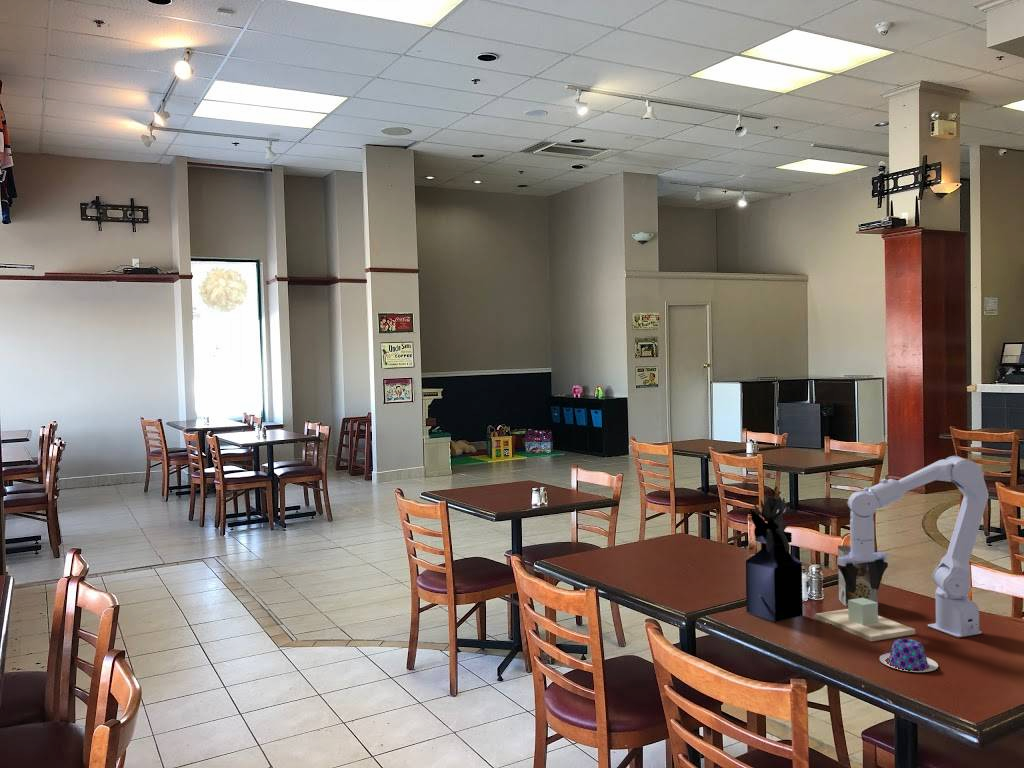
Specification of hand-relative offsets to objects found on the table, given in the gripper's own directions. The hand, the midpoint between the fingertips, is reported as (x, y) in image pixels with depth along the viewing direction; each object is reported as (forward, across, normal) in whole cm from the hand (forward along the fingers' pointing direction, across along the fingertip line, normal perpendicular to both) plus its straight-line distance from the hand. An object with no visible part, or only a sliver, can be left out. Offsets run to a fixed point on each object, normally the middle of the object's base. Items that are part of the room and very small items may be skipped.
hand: (863, 590), depth 208 cm
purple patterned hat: (+10, +10, +25) cm, 28 cm away
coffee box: (+10, -13, -16) cm, 23 cm away
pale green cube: (+8, 0, 0) cm, 8 cm away
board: (+9, 0, 0) cm, 9 cm away
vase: (+10, +15, -17) cm, 25 cm away
